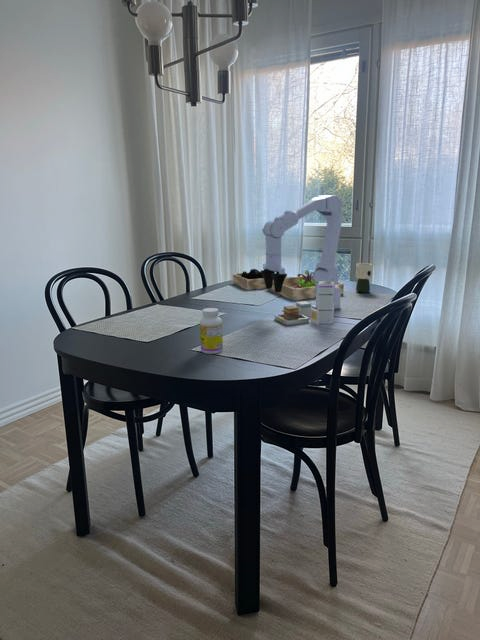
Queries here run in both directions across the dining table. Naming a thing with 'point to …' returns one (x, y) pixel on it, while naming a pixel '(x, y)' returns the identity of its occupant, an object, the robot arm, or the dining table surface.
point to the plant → (304, 283)
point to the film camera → (252, 274)
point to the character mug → (363, 276)
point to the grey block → (304, 308)
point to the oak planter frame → (299, 289)
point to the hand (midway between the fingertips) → (273, 290)
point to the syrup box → (326, 302)
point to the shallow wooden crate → (248, 282)
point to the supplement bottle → (211, 331)
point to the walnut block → (291, 312)
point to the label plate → (314, 316)
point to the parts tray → (301, 320)
